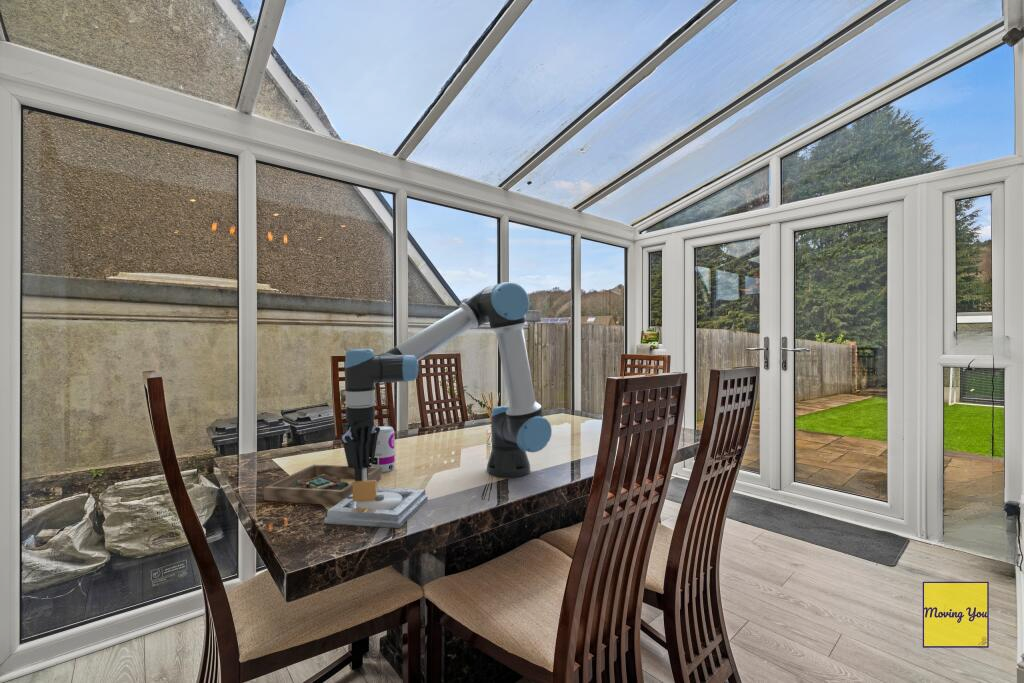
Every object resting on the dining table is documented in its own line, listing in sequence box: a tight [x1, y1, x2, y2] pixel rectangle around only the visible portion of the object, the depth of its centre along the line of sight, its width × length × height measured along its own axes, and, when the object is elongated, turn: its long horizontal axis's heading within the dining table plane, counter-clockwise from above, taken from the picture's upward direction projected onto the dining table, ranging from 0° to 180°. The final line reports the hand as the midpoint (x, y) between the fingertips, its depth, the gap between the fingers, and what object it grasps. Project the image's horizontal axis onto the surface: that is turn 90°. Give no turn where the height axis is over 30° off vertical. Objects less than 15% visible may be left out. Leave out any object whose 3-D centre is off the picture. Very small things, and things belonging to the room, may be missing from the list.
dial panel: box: [323, 486, 429, 529], centre depth 125 cm, size 20×20×3 cm
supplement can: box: [370, 425, 396, 473], centre depth 163 cm, size 8×8×15 cm
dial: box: [352, 480, 402, 510], centre depth 125 cm, size 13×12×7 cm
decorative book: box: [296, 474, 350, 490], centre depth 140 cm, size 13×18×5 cm
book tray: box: [263, 463, 383, 506], centre depth 142 cm, size 24×24×4 cm
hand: (361, 491), depth 126 cm, fingers closed
